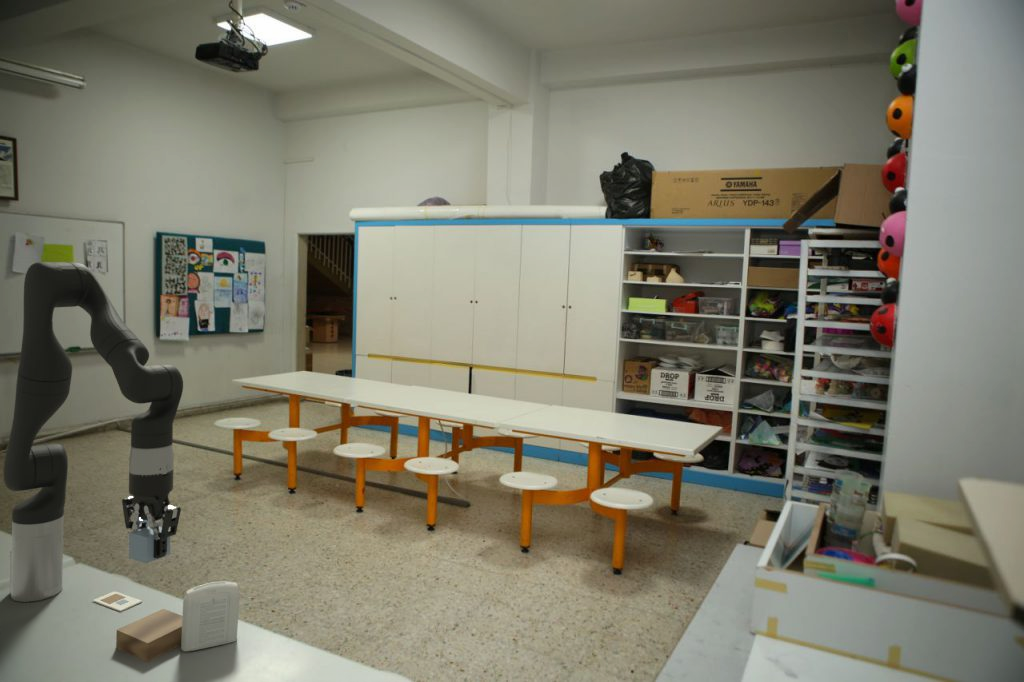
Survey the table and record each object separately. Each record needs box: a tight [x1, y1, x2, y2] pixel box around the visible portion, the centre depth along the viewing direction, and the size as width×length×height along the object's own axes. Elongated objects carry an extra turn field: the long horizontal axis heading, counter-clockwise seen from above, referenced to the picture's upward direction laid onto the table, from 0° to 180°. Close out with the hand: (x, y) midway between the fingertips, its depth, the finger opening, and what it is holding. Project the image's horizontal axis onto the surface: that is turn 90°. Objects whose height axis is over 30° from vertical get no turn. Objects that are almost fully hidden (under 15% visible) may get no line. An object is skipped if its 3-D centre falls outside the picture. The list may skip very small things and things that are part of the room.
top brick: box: [128, 526, 171, 564], centre depth 125 cm, size 5×5×5 cm
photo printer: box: [180, 580, 240, 652], centre depth 128 cm, size 10×4×12 cm, turn 123°
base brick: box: [115, 608, 183, 663], centre depth 127 cm, size 9×10×4 cm
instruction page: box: [92, 590, 143, 613], centre depth 142 cm, size 9×5×1 cm, turn 67°
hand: (150, 553), depth 125 cm, fingers closed on top brick, 5 cm apart
